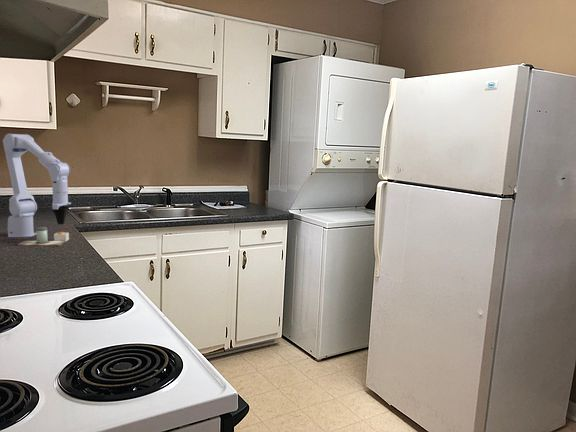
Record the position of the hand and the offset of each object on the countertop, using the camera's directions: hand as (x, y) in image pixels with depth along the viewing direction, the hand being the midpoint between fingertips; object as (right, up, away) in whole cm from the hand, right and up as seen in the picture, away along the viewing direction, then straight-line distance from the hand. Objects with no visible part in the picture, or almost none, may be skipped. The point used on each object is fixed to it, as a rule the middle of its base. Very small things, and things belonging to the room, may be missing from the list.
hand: (61, 224), depth 203 cm
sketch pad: (-5, -8, -6) cm, 11 cm away
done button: (0, -7, +1) cm, 7 cm away
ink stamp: (-5, -7, -7) cm, 11 cm away
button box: (0, -7, +1) cm, 7 cm away
